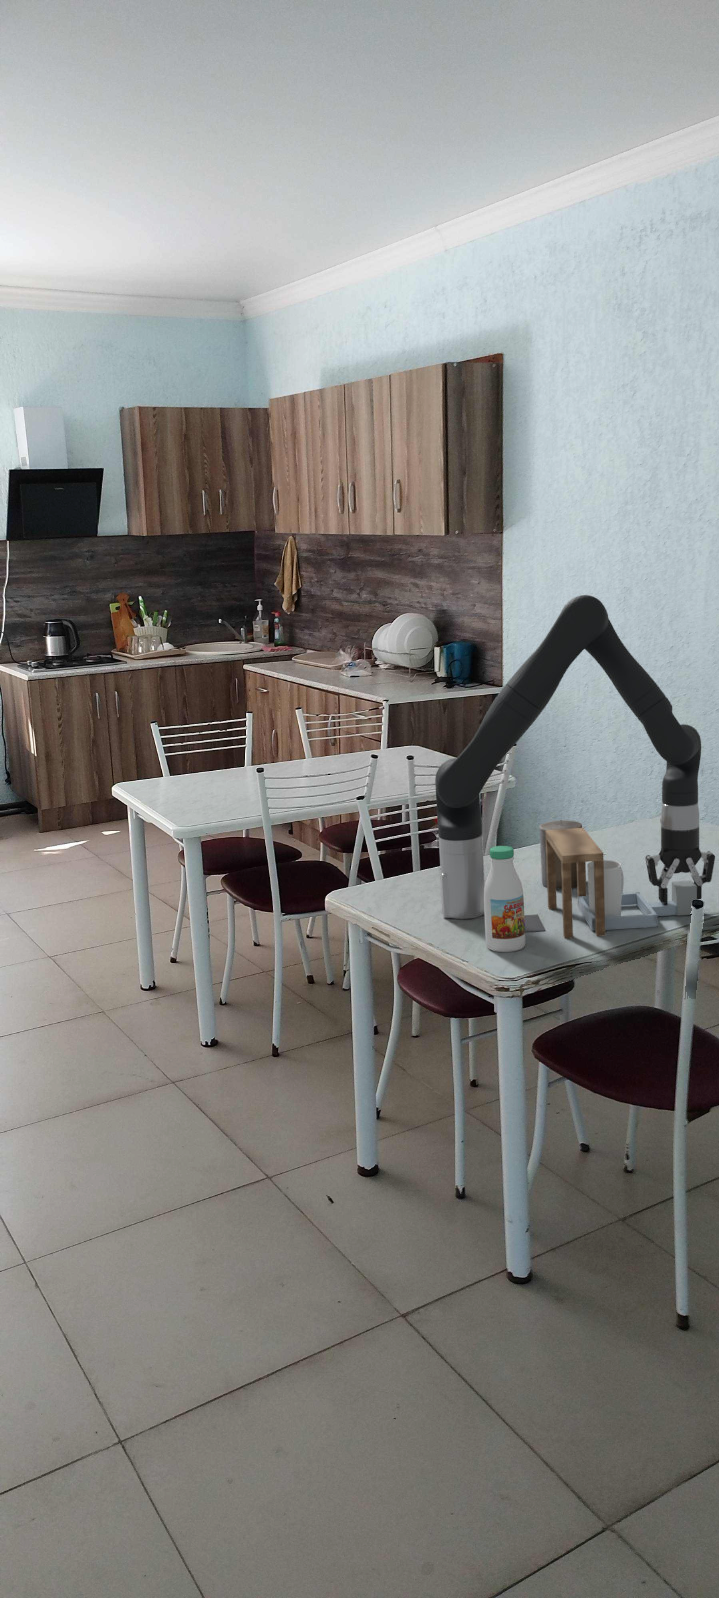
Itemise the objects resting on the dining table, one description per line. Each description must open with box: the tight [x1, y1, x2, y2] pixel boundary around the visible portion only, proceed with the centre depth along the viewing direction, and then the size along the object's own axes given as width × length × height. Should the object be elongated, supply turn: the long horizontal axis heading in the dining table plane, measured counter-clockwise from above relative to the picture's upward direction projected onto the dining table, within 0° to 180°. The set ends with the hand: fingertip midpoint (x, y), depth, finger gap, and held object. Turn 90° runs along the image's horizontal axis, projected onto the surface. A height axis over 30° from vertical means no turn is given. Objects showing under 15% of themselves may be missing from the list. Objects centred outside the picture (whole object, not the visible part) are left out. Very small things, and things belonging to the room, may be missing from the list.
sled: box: [577, 880, 697, 932], centre depth 240 cm, size 22×15×6 cm, turn 91°
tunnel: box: [545, 827, 606, 939], centre depth 239 cm, size 8×20×17 cm, turn 1°
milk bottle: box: [484, 845, 526, 953], centre depth 227 cm, size 8×8×20 cm
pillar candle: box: [538, 819, 583, 890], centre depth 265 cm, size 10×10×15 cm
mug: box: [586, 859, 625, 917], centre depth 239 cm, size 10×7×12 cm, turn 135°
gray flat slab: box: [524, 914, 546, 934], centre depth 241 cm, size 6×10×1 cm, turn 1°
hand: (680, 902), depth 240 cm, fingers closed on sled, 5 cm apart
